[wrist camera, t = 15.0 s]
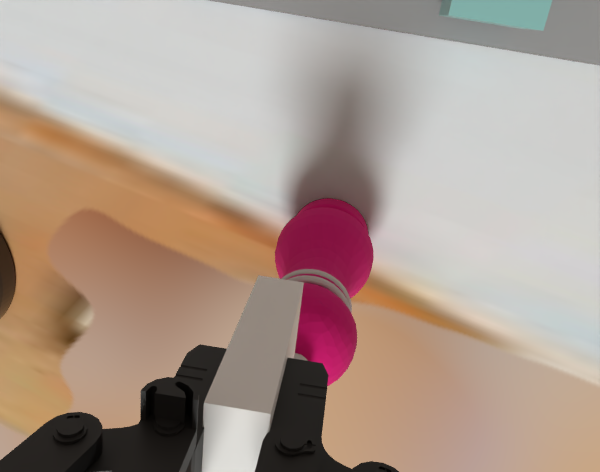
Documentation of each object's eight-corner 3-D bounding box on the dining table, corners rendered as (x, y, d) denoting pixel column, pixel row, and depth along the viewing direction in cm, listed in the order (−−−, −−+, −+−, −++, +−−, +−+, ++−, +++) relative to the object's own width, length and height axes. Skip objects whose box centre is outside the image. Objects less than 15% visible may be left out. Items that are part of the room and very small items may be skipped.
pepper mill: (269, 215, 46) (190, 349, 28) (348, 176, 44) (319, 292, 25) (312, 288, 48) (265, 458, 29) (390, 253, 46) (391, 414, 27)
